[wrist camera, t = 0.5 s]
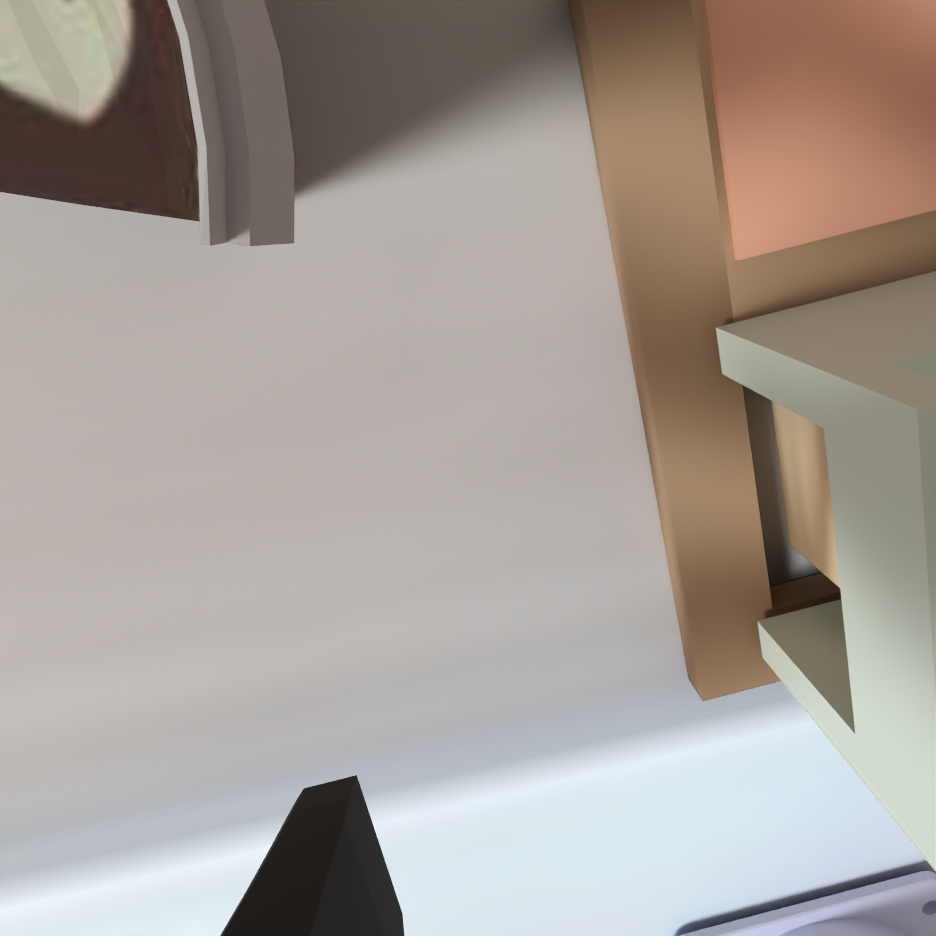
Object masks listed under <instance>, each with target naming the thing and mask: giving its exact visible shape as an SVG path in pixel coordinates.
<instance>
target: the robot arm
mask: <svg viewBox="0 0 936 936" xmlns="http://www.w3.org/2000/svg"><path fill="white" fill-rule="evenodd" d="M221 936H404V928H403V916H402V911H401V908H400V905H399V902H398V899H397V896H396V893H395V890H394V887H393V884H392V881H391V878H390V875H389V872H388V869H387V866H386V863H385V860H384V857H383V854H382V851H381V848H380V845H379V842H378V839H377V836H376V833H375V830H374V827H373V824H372V821H371V818H370V815H369V812H368V809H367V806H366V803H365V799H364V796H363V793H362V790H361V787H360V784H359V781H358V778H357V775H356V776H352V777H348V778H344V779H340V780H336V781H332V782H328V783H324V784H320V785H316V786H312V787H308V788H304V789H303V791H302V792H301V794H300V796H299V797H298V799H297V800H296V802H295V804H294V806H293V807H292V809H291V811H290V813H289V815H288V816H287V818H286V820H285V822H284V824H283V826H282V827H281V829H280V831H279V833H278V835H277V837H276V839H275V840H274V842H273V844H272V846H271V848H270V850H269V851H268V853H267V855H266V857H265V859H264V861H263V862H262V864H261V866H260V868H259V870H258V871H257V873H256V875H255V877H254V879H253V880H252V882H251V884H250V886H249V888H248V889H247V891H246V893H245V895H244V896H243V898H242V900H241V901H240V903H239V905H238V907H237V908H236V910H235V912H234V913H233V915H232V917H231V919H230V920H229V922H228V924H227V925H226V927H225V929H224V930H223V932H222V934H221ZM680 936H936V874H935V873H934V872H931V871H920V872H917V873H913V874H909V875H905V876H901V877H898V878H894V879H890V880H886V881H883V882H879V883H875V884H871V885H867V886H864V887H860V888H856V889H852V890H848V891H845V892H841V893H837V894H833V895H830V896H826V897H822V898H818V899H814V900H811V901H807V902H803V903H799V904H796V905H792V906H788V907H784V908H780V909H777V910H773V911H769V912H765V913H761V914H758V915H754V916H750V917H746V918H743V919H739V920H735V921H731V922H727V923H724V924H720V925H716V926H712V927H708V928H705V929H701V930H697V931H693V932H690V933H686V934H682V935H680Z"/></svg>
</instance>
